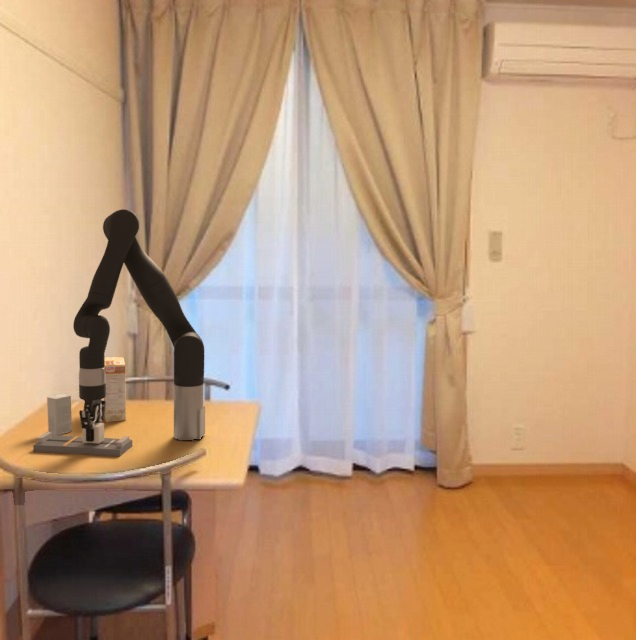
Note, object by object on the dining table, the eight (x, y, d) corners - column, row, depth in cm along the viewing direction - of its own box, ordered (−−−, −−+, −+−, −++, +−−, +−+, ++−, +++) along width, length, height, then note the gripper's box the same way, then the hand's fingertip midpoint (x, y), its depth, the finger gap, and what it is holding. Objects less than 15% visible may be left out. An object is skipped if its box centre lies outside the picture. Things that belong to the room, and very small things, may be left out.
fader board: (132, 445, 213) (132, 434, 213) (120, 456, 203) (119, 444, 203) (49, 441, 215) (49, 430, 215) (33, 451, 206) (33, 439, 205)
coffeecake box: (103, 410, 252) (103, 357, 250) (124, 409, 254) (123, 356, 252) (104, 422, 238) (103, 365, 236) (126, 420, 240) (125, 364, 238)
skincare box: (63, 429, 228) (62, 393, 227) (72, 431, 226) (71, 395, 224) (47, 434, 223) (46, 396, 221) (56, 436, 221) (55, 398, 219)
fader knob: (104, 439, 210) (104, 422, 210) (98, 443, 206) (98, 426, 206) (88, 438, 211) (87, 421, 210) (82, 442, 207) (82, 425, 206)
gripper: (95, 388, 199) (96, 446, 201) (114, 377, 213) (114, 432, 215) (69, 386, 200) (70, 445, 202) (90, 376, 214) (91, 431, 216)
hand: (93, 438), depth 209 cm, fingers closed on fader knob, 4 cm apart
